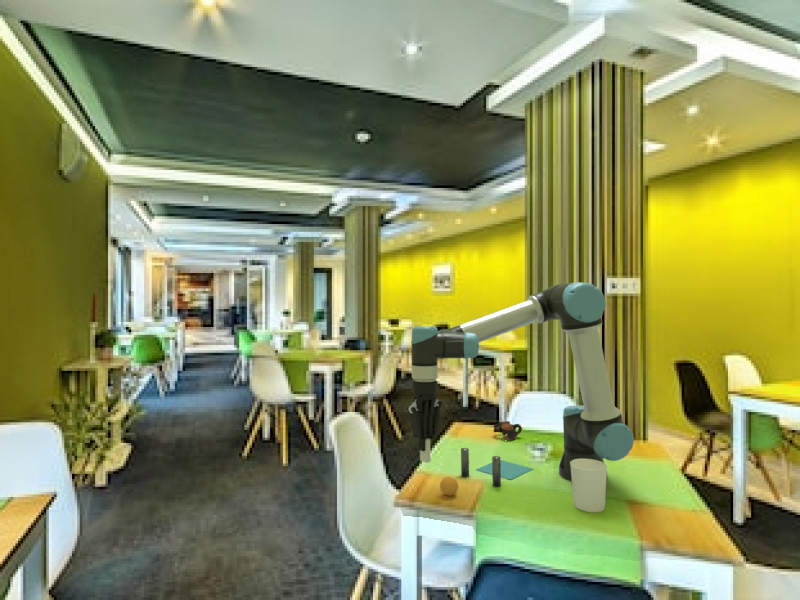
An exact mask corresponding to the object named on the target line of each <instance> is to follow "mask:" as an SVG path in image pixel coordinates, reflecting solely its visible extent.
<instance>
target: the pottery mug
mask: <svg viewBox="0 0 800 600" xmlns="http://www.w3.org/2000/svg"><path fill="white" fill-rule="evenodd" d="M517 429H518V430H517ZM516 430H517V431H516ZM522 430H523V427H522V425H521V424H520V423H515V424H511V422H510V421H509V420H506V421H502V422H501V421H500V422H498V423H496V424H494V425H493V433H501V435H503V434H506V435H503V436H502V438H503V441H504V440H508V441H515V440H514V439H515V438H517V437H518V435H520V434H521V432H522Z"/></svg>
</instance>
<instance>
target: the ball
mask: <svg viewBox="0 0 800 600" xmlns="http://www.w3.org/2000/svg"><path fill="white" fill-rule="evenodd" d="M439 489H440V491H441V492H442V493H443V495H446V497H447V496H448V497H450V496H454V495H456V493H457V491H458V489H459V483H458V481H457V479H456V478H455V477H453V476H449V475H448V476H445V477H443V478H441V480H440V483H439Z"/></svg>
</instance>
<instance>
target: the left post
mask: <svg viewBox="0 0 800 600" xmlns="http://www.w3.org/2000/svg"><path fill="white" fill-rule="evenodd" d="M469 451H470V449H469V448H468V447H461V448H460V467H461V468H460V470H461V471H460V475H461V477H463V478H468V477H470V457H469V456H470V453H469Z"/></svg>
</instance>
